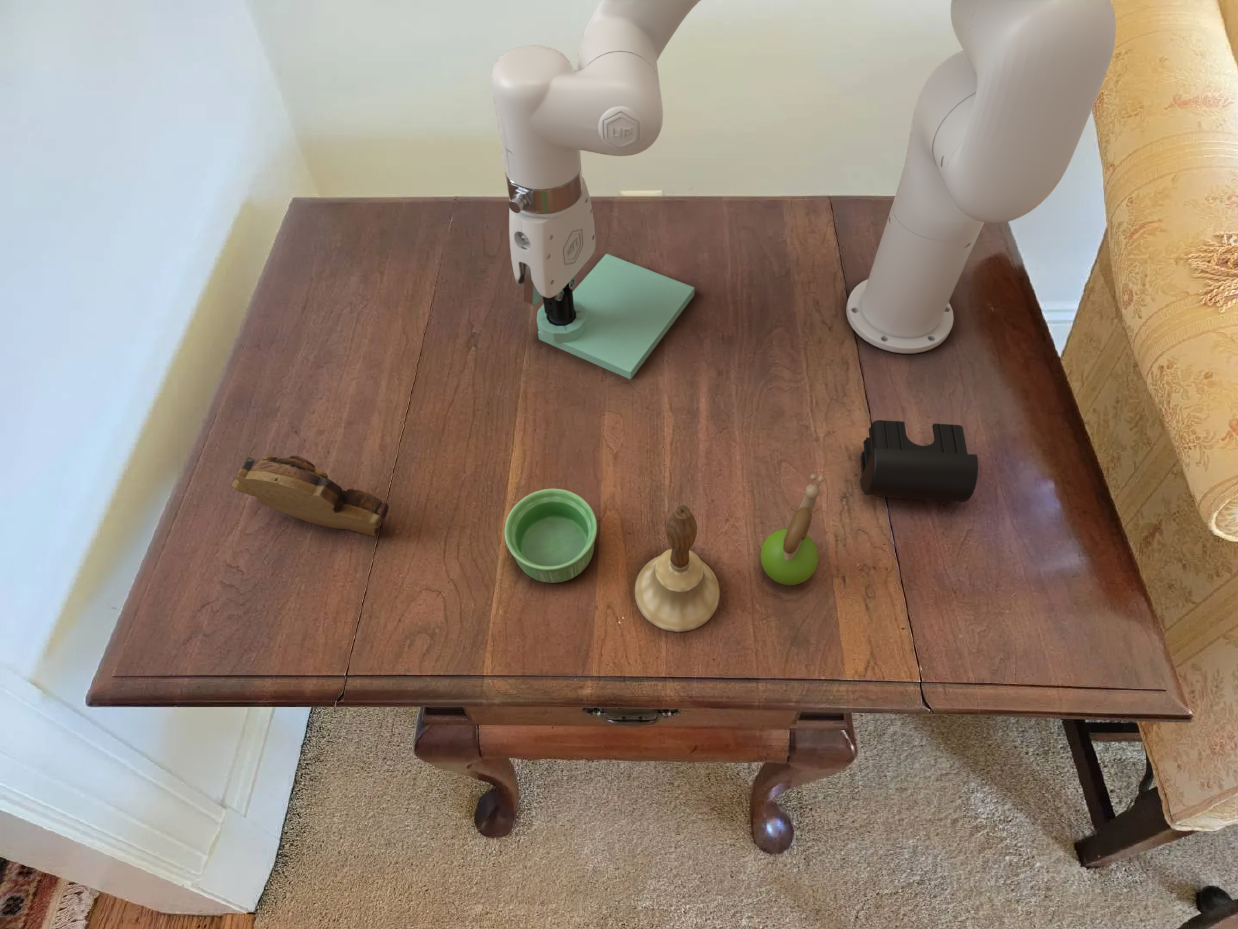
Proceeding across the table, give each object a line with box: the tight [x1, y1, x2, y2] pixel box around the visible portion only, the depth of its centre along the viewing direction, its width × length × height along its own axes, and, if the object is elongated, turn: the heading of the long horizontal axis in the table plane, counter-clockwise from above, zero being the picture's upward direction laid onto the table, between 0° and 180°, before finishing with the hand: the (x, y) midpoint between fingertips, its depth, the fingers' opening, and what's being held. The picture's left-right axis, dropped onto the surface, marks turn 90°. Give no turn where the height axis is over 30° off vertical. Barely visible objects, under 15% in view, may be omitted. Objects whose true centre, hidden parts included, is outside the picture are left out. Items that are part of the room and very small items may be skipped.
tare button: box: [549, 314, 575, 326], centre depth 93 cm, size 3×3×2 cm
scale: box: [536, 253, 695, 380], centre depth 95 cm, size 16×14×3 cm
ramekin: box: [503, 488, 598, 584], centre depth 77 cm, size 9×9×4 cm
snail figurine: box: [760, 473, 825, 586], centre depth 72 cm, size 5×6×12 cm
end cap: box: [859, 419, 979, 503], centre depth 79 cm, size 10×7×7 cm
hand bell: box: [634, 504, 721, 633], centre depth 69 cm, size 8×8×16 cm
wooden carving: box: [231, 455, 390, 537], centre depth 77 cm, size 16×5×10 cm, turn 78°
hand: (559, 313), depth 93 cm, fingers closed
